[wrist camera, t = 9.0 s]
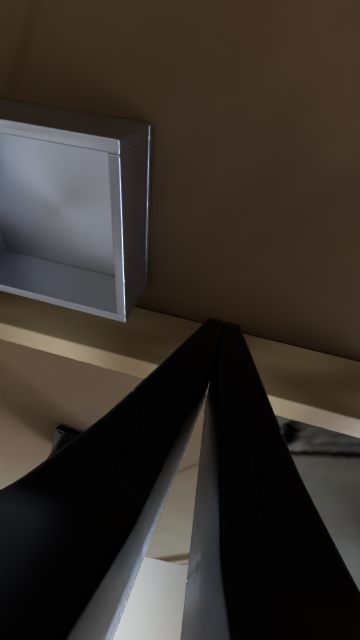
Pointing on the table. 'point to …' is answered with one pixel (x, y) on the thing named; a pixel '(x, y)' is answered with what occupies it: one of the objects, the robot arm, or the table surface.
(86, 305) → the baking tin
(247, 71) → the table surface
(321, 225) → the table surface
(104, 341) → the corner bracket
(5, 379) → the table surface
